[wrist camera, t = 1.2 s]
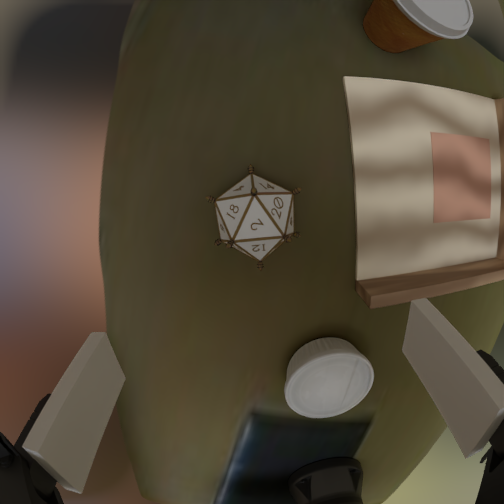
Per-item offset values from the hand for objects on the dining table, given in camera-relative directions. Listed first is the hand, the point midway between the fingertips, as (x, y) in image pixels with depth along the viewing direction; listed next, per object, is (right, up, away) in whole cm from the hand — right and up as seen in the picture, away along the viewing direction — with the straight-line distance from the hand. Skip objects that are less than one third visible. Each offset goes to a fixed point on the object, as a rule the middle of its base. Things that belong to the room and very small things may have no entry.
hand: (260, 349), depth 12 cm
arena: (+23, +12, +19) cm, 33 cm away
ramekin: (+9, -11, +26) cm, 30 cm away
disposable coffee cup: (+16, +30, +14) cm, 37 cm away
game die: (0, +8, +20) cm, 22 cm away
